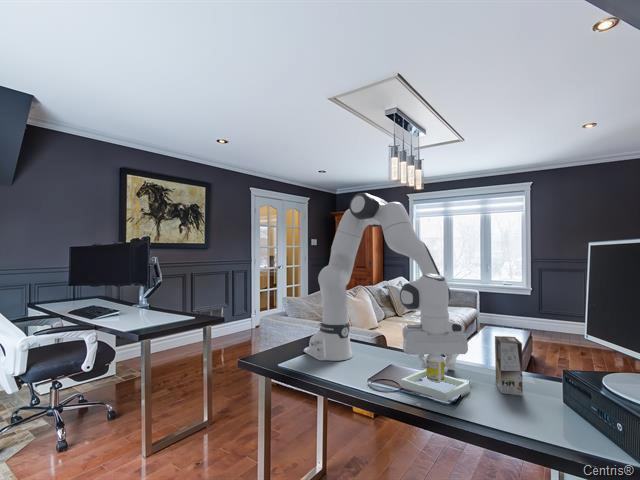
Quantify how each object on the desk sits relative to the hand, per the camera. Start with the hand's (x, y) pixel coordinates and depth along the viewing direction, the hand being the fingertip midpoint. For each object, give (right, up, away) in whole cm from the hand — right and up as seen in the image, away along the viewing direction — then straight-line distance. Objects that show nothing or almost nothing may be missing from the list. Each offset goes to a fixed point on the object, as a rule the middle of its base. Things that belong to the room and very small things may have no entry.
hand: (435, 367), depth 110 cm
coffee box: (+24, -7, 0) cm, 25 cm away
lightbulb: (+12, -8, +18) cm, 23 cm away
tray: (0, -7, 0) cm, 7 cm away
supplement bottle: (0, -4, 0) cm, 4 cm away
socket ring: (-16, -7, +4) cm, 18 cm away
